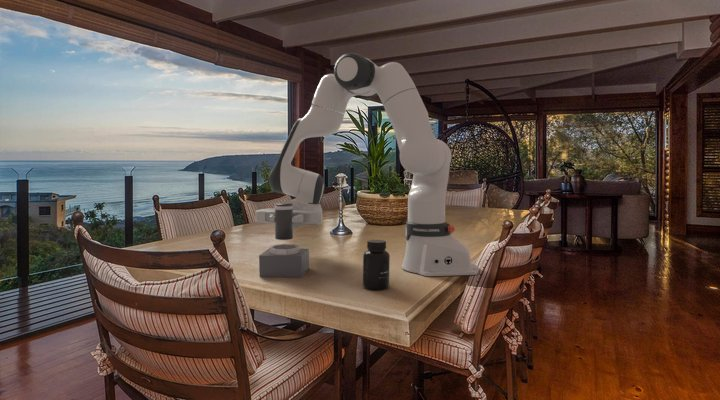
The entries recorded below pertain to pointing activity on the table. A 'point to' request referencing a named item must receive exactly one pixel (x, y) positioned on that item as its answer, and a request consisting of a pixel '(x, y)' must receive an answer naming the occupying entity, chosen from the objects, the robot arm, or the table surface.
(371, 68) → the robot arm
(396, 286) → the table surface
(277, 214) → the lens
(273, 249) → the camera body block
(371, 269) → the supplement bottle
